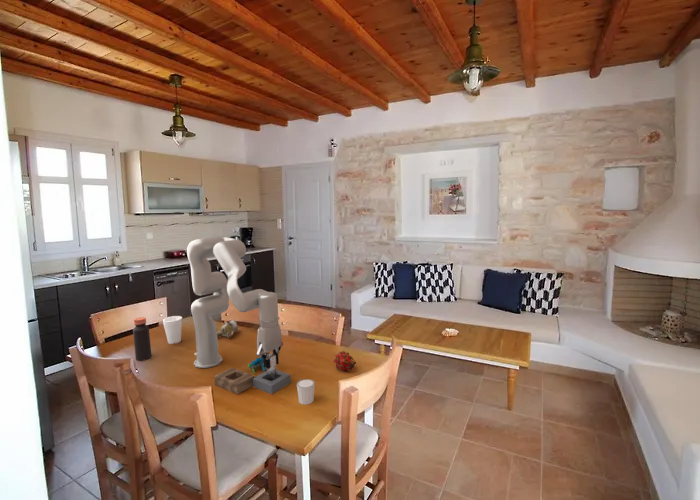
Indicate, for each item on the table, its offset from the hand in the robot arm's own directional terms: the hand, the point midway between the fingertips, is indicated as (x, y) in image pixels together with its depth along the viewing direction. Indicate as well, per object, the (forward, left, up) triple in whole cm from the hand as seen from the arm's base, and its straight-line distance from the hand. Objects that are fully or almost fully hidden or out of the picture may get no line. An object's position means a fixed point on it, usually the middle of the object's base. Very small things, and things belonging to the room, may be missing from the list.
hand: (271, 365), depth 150 cm
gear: (-15, +7, -9) cm, 19 cm away
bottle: (-73, -16, -9) cm, 75 cm away
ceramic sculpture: (-62, +26, -9) cm, 68 cm away
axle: (0, 0, -6) cm, 6 cm away
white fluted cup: (+20, -2, -9) cm, 22 cm away
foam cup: (-80, +4, -9) cm, 81 cm away
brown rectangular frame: (-13, -9, -9) cm, 18 cm away
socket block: (0, 0, -9) cm, 9 cm away
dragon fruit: (+18, +27, -9) cm, 34 cm away
